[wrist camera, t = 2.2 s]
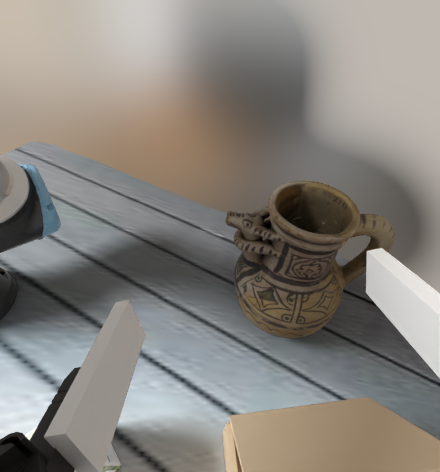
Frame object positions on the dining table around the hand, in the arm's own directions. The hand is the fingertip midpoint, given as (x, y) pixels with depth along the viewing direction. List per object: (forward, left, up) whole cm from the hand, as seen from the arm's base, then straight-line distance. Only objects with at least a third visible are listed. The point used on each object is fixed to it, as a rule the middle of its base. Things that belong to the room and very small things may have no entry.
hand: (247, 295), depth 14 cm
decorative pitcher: (+12, +15, -32) cm, 37 cm away
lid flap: (+7, -6, -15) cm, 17 cm away
